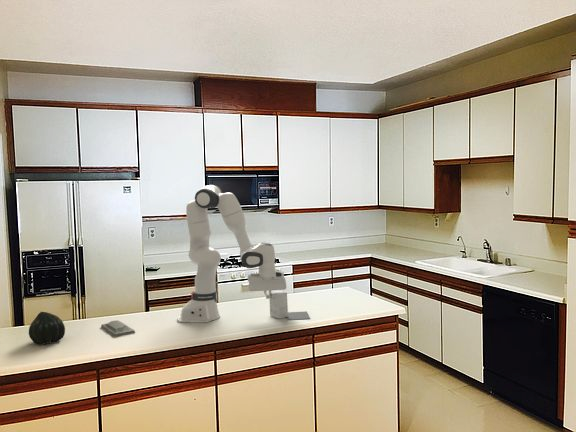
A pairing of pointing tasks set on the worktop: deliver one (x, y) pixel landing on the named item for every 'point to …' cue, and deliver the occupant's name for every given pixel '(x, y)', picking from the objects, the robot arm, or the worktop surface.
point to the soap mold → (117, 328)
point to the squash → (46, 328)
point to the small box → (278, 304)
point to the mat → (297, 315)
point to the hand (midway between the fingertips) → (267, 298)
